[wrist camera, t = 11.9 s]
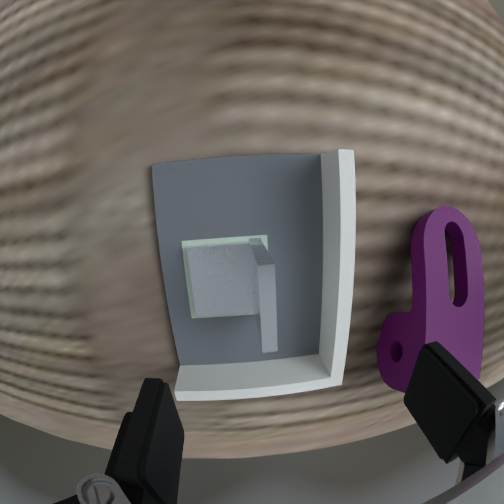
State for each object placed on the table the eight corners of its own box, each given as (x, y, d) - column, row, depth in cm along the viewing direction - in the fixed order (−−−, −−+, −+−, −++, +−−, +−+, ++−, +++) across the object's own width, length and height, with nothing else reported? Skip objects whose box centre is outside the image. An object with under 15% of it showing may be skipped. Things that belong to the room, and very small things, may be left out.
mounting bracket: (376, 224, 31) (373, 381, 27) (418, 198, 22) (418, 398, 18) (432, 233, 31) (432, 370, 28) (475, 213, 23) (479, 379, 19)
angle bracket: (261, 239, 23) (274, 264, 16) (265, 307, 24) (277, 351, 18) (188, 245, 23) (171, 272, 16) (197, 312, 24) (186, 357, 17)
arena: (153, 164, 21) (136, 160, 17) (331, 155, 22) (353, 149, 18) (182, 371, 26) (177, 400, 22) (327, 358, 27) (341, 384, 23)
